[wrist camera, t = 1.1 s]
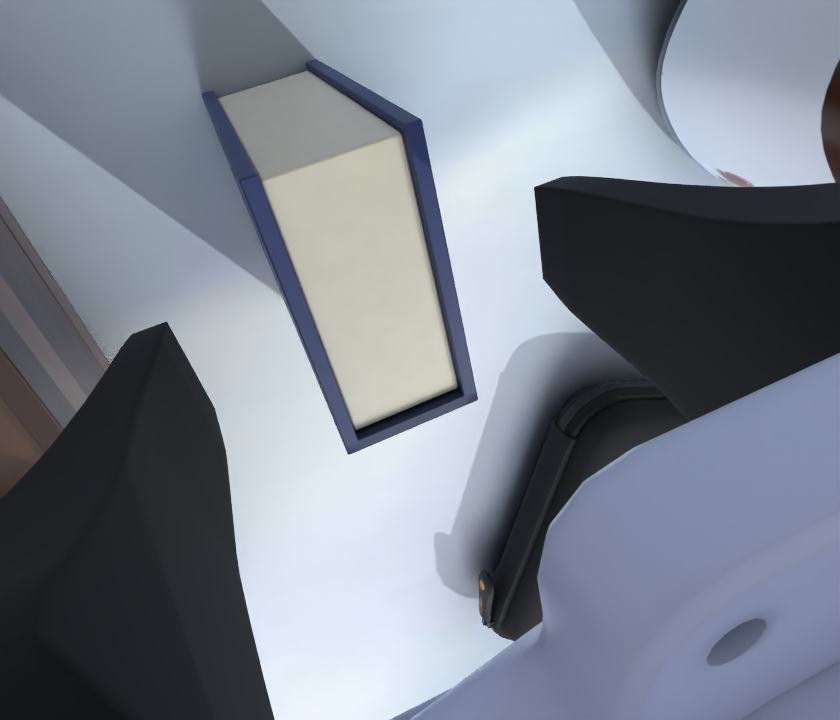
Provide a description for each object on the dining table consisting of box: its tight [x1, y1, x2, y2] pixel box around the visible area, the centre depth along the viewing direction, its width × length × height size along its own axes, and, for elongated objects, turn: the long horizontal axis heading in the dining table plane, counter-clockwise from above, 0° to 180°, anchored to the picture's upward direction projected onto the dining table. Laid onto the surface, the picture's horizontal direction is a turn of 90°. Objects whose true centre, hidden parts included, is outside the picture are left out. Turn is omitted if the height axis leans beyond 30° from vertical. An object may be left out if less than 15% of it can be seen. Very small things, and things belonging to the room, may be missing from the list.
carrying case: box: [479, 380, 689, 641], centre depth 28 cm, size 11×3×15 cm
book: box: [202, 59, 478, 454], centre depth 14 cm, size 3×6×8 cm, turn 13°
